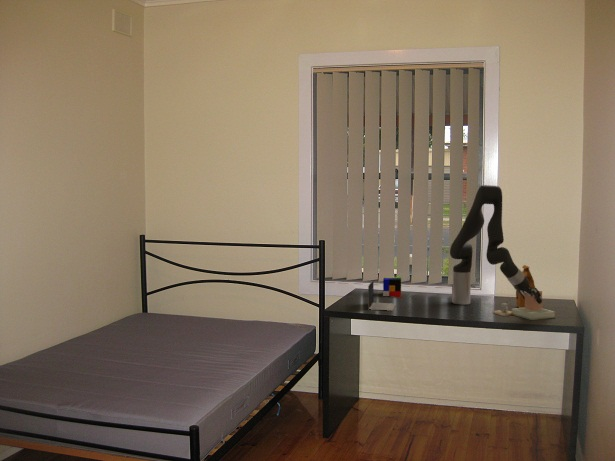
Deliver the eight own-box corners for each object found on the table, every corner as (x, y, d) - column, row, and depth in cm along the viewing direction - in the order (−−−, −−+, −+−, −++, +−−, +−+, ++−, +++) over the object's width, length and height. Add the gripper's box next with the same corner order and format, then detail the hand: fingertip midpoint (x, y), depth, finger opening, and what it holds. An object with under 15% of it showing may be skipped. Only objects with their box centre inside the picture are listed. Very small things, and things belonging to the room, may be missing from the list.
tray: (511, 314, 314) (511, 308, 314) (533, 312, 320) (534, 306, 319) (531, 320, 301) (531, 314, 301) (554, 317, 307) (554, 311, 307)
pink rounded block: (524, 308, 312) (524, 290, 311) (535, 307, 314) (536, 289, 314) (532, 310, 306) (533, 292, 306) (544, 309, 309) (544, 291, 309)
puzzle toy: (383, 296, 364) (383, 279, 364) (384, 293, 374) (384, 276, 373) (400, 297, 363) (400, 279, 362) (401, 294, 373) (401, 277, 372)
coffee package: (516, 310, 324) (517, 267, 323) (515, 305, 336) (516, 264, 335) (537, 311, 322) (538, 268, 320) (535, 306, 334) (536, 265, 332)
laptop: (392, 311, 324) (392, 286, 323) (368, 310, 327) (368, 285, 326) (395, 304, 342) (396, 280, 340) (372, 304, 344) (372, 280, 343)
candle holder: (492, 312, 318) (492, 303, 318) (505, 311, 322) (505, 301, 321) (503, 316, 311) (503, 305, 311) (516, 314, 314) (516, 304, 314)
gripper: (532, 274, 299) (551, 298, 305) (511, 271, 313) (530, 293, 318) (523, 286, 298) (542, 309, 303) (502, 282, 311) (521, 304, 316)
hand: (536, 301), depth 311 cm, fingers closed on pink rounded block, 5 cm apart
